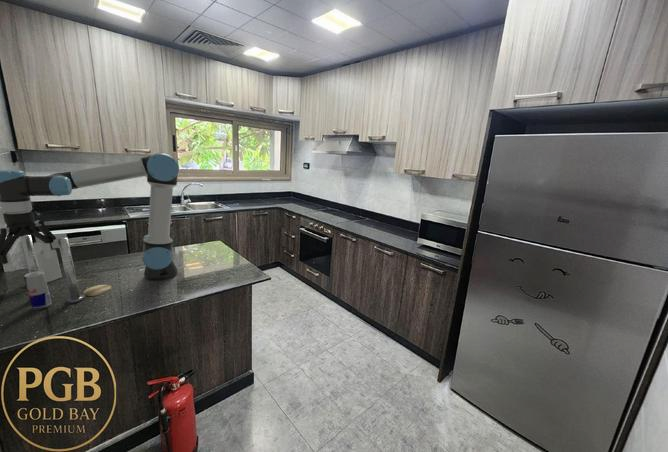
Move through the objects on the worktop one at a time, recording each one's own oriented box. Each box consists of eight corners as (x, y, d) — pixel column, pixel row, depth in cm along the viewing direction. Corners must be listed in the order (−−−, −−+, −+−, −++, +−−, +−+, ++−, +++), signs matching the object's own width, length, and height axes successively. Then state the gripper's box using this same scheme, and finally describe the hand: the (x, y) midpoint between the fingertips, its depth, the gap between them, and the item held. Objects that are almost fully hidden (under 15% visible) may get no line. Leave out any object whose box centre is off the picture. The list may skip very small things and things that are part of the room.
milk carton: (45, 283, 130) (36, 246, 125) (34, 281, 131) (24, 244, 126) (62, 277, 137) (54, 242, 132) (51, 275, 138) (43, 240, 133)
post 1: (54, 294, 121) (40, 234, 114) (40, 301, 116) (24, 238, 108) (42, 293, 122) (26, 233, 114) (26, 300, 116) (9, 237, 109)
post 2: (88, 296, 121) (76, 236, 114) (75, 304, 115) (62, 240, 108) (76, 295, 121) (63, 235, 114) (62, 303, 115) (47, 239, 108)
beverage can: (41, 303, 114) (33, 270, 111) (55, 303, 115) (48, 270, 111) (28, 310, 109) (19, 276, 105) (43, 310, 110) (34, 276, 106)
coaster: (116, 286, 131) (116, 285, 131) (98, 296, 121) (98, 295, 121) (97, 285, 131) (96, 284, 131) (77, 295, 122) (76, 294, 121)
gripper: (44, 205, 114) (54, 252, 119) (-38, 218, 90) (-21, 276, 95) (61, 206, 114) (70, 253, 119) (-16, 219, 89) (0, 278, 95)
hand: (30, 263), depth 107 cm, fingers open, 13 cm apart
